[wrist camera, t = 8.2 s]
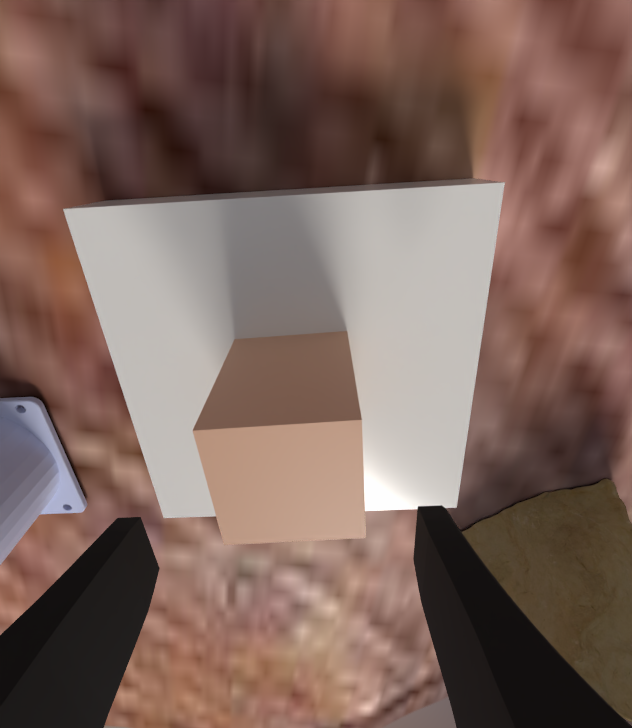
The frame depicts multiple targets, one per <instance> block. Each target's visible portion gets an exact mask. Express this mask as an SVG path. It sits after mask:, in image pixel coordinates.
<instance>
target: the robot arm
mask: <svg viewBox="0 0 632 728" xmlns="http://www.w3.org/2000/svg"><path fill="white" fill-rule="evenodd" d="M21 405H22V406H23V407H24V408H25V409H24V408H23V407H22V406H21ZM86 506H87V502H86V499H85V497H84V495H83V492H82V490H81V488H80V486H79V483H78V481H77V479H76V477H75V474H74V472H73V470H72V468H71V465H70V463H69V461H68V458H67V456H66V454H65V452H64V449H63V447H62V445H61V443H60V440H59V438H58V436H57V433H56V431H55V429H54V427H53V424H52V422H51V420H50V418H49V415H48V413H47V411H46V409H45V406H44V404H43V403H42V401H41V400H39V399H37V398H35V397H15V398H0V565H1V563H2V562H3V561H4V560H5V558H6V557H7V556H8V554H9V553H10V552H11V551H12V549H13V548H14V547H15V545H16V544H17V543H18V542H19V540H20V539H21V538H22V536H23V535H24V534H25V533H26V531H27V530H28V529H29V527H30V526H31V525H32V524H33V522H34V521H35V520H36V519H37V517H38V516H39V515H40V514H56V513H79V512H83V511H84V510H85V508H86ZM414 565H415V570H416V576H417V582H418V587H419V592H420V597H421V602H422V606H423V610H424V613H425V617H426V620H427V624H428V627H429V631H430V634H431V638H432V641H433V645H434V648H435V652H436V655H437V659H438V662H439V666H440V669H441V672H442V676H443V679H444V683H445V686H446V690H447V693H448V697H449V700H450V703H451V707H452V711H453V715H454V719H455V723H456V727H457V728H632V726H631V725H630V724H629V723H628V722H627V721H626V720H625V719H624V718H622V717H621V716H620V715H619V714H618V713H617V712H616V711H615V710H614V709H613V708H612V707H611V706H610V705H609V704H608V703H607V702H606V701H605V700H604V699H603V698H602V697H601V696H600V695H599V694H598V693H597V692H596V691H595V690H594V689H593V688H592V687H591V686H590V685H589V684H588V683H587V682H586V681H585V680H584V679H583V678H582V677H581V676H580V675H579V674H578V673H577V672H576V670H575V669H574V668H573V667H572V666H571V665H570V664H569V663H568V662H567V661H566V660H565V659H564V658H563V657H562V656H561V655H560V654H559V653H558V651H557V650H556V649H555V648H554V647H553V646H552V645H551V644H550V643H549V642H548V640H547V639H546V638H545V637H544V636H543V635H542V634H541V633H540V631H539V630H538V629H537V628H536V627H535V626H534V625H533V623H532V622H531V621H530V620H529V619H528V618H527V616H526V615H525V614H524V613H523V612H522V610H521V609H520V608H519V607H518V606H517V605H516V603H515V602H514V601H513V600H512V598H511V597H510V596H509V595H508V594H507V592H506V591H505V590H504V589H503V587H502V586H501V585H500V583H499V582H498V581H497V580H496V578H495V577H494V576H493V575H492V573H491V572H490V571H489V569H488V568H487V567H486V566H485V564H484V563H483V562H482V560H481V559H480V558H479V556H478V555H477V553H476V552H475V551H474V549H473V548H472V547H471V545H470V544H469V542H468V541H467V540H466V538H465V537H464V535H463V534H462V532H461V531H460V529H459V528H458V527H457V525H456V524H455V522H454V521H453V519H452V518H451V516H450V514H449V513H448V511H447V510H446V508H444V507H443V506H442V505H440V506H418V511H417V523H416V535H415V548H414ZM158 572H159V566H158V563H157V560H156V558H155V555H154V552H153V550H152V547H151V544H150V541H149V539H148V536H147V533H146V531H145V528H144V525H143V522H142V520H141V517H131V518H117V519H116V520H115V521H114V522H113V523H112V524H111V525H110V526H109V527H108V528H107V529H106V530H105V531H104V533H103V534H102V535H101V536H100V537H99V538H98V539H97V540H96V541H95V542H94V543H93V544H92V545H91V546H90V547H89V548H88V549H87V550H86V551H85V552H84V553H83V554H82V555H81V556H80V557H79V558H78V559H77V560H76V562H75V563H74V564H73V565H72V566H71V567H70V568H69V569H68V570H67V571H66V572H65V573H64V574H63V575H62V576H61V577H60V578H59V579H58V580H57V581H56V582H55V583H54V584H53V585H52V586H51V587H50V588H49V589H48V590H47V591H46V592H45V593H44V594H43V595H42V596H41V597H40V598H39V599H38V600H37V601H36V602H35V603H34V604H33V605H32V606H31V607H30V608H29V609H28V610H26V611H25V612H24V613H23V614H22V615H21V616H20V617H19V618H18V619H17V620H16V621H15V622H14V623H13V624H12V625H11V626H10V627H9V628H8V629H6V630H5V631H4V632H3V633H2V634H1V635H0V728H103V727H104V725H105V722H106V719H107V716H108V713H109V711H110V708H111V706H112V703H113V701H114V698H115V696H116V693H117V690H118V688H119V685H120V683H121V680H122V678H123V675H124V672H125V670H126V667H127V665H128V662H129V660H130V657H131V655H132V652H133V649H134V647H135V644H136V642H137V639H138V636H139V634H140V631H141V629H142V626H143V623H144V621H145V618H146V615H147V613H148V610H149V606H150V603H151V599H152V595H153V592H154V588H155V584H156V580H157V576H158Z"/></svg>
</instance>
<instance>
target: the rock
mask: <svg viewBox="0 0 632 728" xmlns="http://www.w3.org/2000/svg"><path fill="white" fill-rule="evenodd" d="M462 534H463V535H464V537H465V538H466V540H467V541H468V542H469V544H470V545H471V547H472V548H473V549H474V551H475V552H476V553H477V555H478V556H479V558H480V559H481V560H482V562H483V563H484V564H485V566H486V567H487V568H488V569H489V571H490V572H491V573H492V575H493V576H494V577H495V578H496V580H497V581H498V582H499V583H500V585H501V586H502V587H503V589H504V590H505V591H506V592H507V594H508V595H509V596H510V597H511V598H512V600H513V601H514V602H515V603H516V605H517V606H518V607H519V608H520V609H521V610H522V612H523V613H524V614H525V615H526V616H527V618H528V619H529V620H530V621H531V622H532V623H533V625H534V626H535V627H536V628H537V629H538V630H539V631H540V633H541V634H542V635H543V636H544V637H545V638H546V639H547V640H548V642H549V643H550V644H551V645H552V646H553V647H554V648H555V649H556V650H557V651H558V653H559V654H560V655H561V656H562V657H563V658H564V659H565V660H566V661H567V662H568V663H569V664H570V665H571V666H572V667H573V668H574V669H575V670H576V672H577V673H578V674H579V675H580V676H581V677H582V678H583V679H584V680H585V681H586V682H587V683H588V684H589V685H590V686H591V687H592V688H593V689H594V690H595V691H596V692H597V693H598V694H599V695H600V696H601V697H602V698H603V699H604V700H605V701H606V702H607V703H608V704H609V705H610V706H611V707H612V708H613V709H614V710H615V711H616V712H617V713H618V714H619V715H620V716H621V717H623V718H625V719H627V720H628V721H630V722H632V524H631V522H630V520H629V518H628V514H627V510H626V506H625V504H624V503H623V501H622V500H621V499H620V498H619V495H618V493H617V490H616V486H615V484H614V483H613V482H612V481H611V480H609V479H603V480H601V481H600V482H599V483H597V484H594V485H591V486H584V487H578V488H575V489H572V490H569V489H563V490H558V491H554V492H545V493H542V494H540V495H539V496H537V497H534V498H531V499H528V500H526V501H523V502H519V503H517V504H515V505H514V506H512V507H510V508H507V509H505V510H503V511H501V512H500V513H499V514H497V515H494V516H492V517H490V518H487V519H483V520H481V521H480V522H478V523H476V524H474V525H473V526H472V527H471V528H469V529H467V530H465V531H462Z"/></svg>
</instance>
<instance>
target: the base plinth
mask: <svg viewBox="0 0 632 728" xmlns="http://www.w3.org/2000/svg"><path fill="white" fill-rule="evenodd" d="M504 184H505V182H498V181H490V180H483V179H475V178H470V179H453V180H437V181H420V182H404V183H387V184H371V185H354V186H338V187H321V188H305V189H288V190H272V191H255V192H239V193H222V194H206V195H189V196H173V197H156V198H140V199H123V200H107V201H100V202H95V203H91V204H86V205H81V206H76V207H71V208H66V209H63V210H64V213H65V217H66V220H67V223H68V226H69V229H70V232H71V235H72V238H73V241H74V244H75V247H76V250H77V253H78V256H79V259H80V262H81V266H82V269H83V272H84V275H85V278H86V281H87V284H88V287H89V290H90V293H91V296H92V299H93V302H94V305H95V308H96V311H97V315H98V318H99V321H100V324H101V327H102V330H103V333H104V336H105V339H106V342H107V345H108V348H109V351H110V354H111V357H112V360H113V364H114V367H115V370H116V373H117V376H118V379H119V382H120V385H121V388H122V391H123V394H124V397H125V400H126V403H127V406H128V409H129V413H130V416H131V419H132V422H133V425H134V428H135V431H136V434H137V437H138V440H139V443H140V446H141V449H142V452H143V455H144V458H145V462H146V465H147V468H148V471H149V474H150V477H151V480H152V483H153V486H154V489H155V492H156V495H157V498H158V501H159V504H160V508H161V511H162V514H163V517H164V518H179V517H207V516H216V514H215V510H214V507H213V503H212V499H211V496H210V492H209V489H208V485H207V481H206V478H205V474H204V470H203V467H202V463H201V460H200V456H199V452H198V449H197V445H196V442H195V438H194V434H193V428H194V426H195V424H196V422H197V420H198V418H199V415H200V413H201V411H202V409H203V407H204V405H205V402H206V400H207V398H208V396H209V394H210V392H211V389H212V387H213V385H214V383H215V381H216V379H217V376H218V374H219V372H220V370H221V368H222V366H223V363H224V361H225V359H226V357H227V355H228V353H229V350H230V348H231V346H232V344H233V342H234V340H235V339H245V338H258V337H272V336H285V335H299V334H313V333H326V332H340V331H347V333H348V339H349V345H350V351H351V357H352V363H353V369H354V375H355V381H356V387H357V393H358V399H359V405H360V411H361V418H362V437H363V466H364V494H365V511H375V510H403V509H418V506H440V505H442V506H443V507H444V508H457V502H458V495H459V488H460V482H461V475H462V468H463V461H464V455H465V448H466V441H467V434H468V428H469V421H470V414H471V407H472V401H473V394H474V387H475V380H476V373H477V367H478V360H479V353H480V346H481V340H482V333H483V326H484V319H485V313H486V306H487V299H488V292H489V285H490V279H491V272H492V265H493V258H494V252H495V245H496V238H497V231H498V225H499V218H500V211H501V204H502V197H503V191H504Z"/></svg>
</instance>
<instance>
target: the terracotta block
mask: <svg viewBox="0 0 632 728" xmlns="http://www.w3.org/2000/svg"><path fill="white" fill-rule="evenodd" d="M193 434H194V438H195V442H196V445H197V449H198V452H199V456H200V460H201V463H202V467H203V470H204V474H205V478H206V481H207V485H208V489H209V492H210V496H211V499H212V503H213V507H214V510H215V514H216V517H217V521H218V525H219V528H220V532H221V535H222V539H223V543H224V545H235V544H255V543H274V542H294V541H313V540H333V539H352V538H366V522H365V494H364V466H363V437H362V418H361V411H360V405H359V399H358V393H357V387H356V381H355V375H354V369H353V363H352V357H351V351H350V345H349V339H348V333H347V331H340V332H326V333H313V334H299V335H285V336H272V337H258V338H245V339H235V340H234V342H233V344H232V346H231V348H230V350H229V353H228V355H227V357H226V359H225V361H224V363H223V366H222V368H221V370H220V372H219V374H218V376H217V379H216V381H215V383H214V385H213V387H212V389H211V392H210V394H209V396H208V398H207V400H206V402H205V405H204V407H203V409H202V411H201V413H200V415H199V418H198V420H197V422H196V424H195V426H194V428H193Z"/></svg>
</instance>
